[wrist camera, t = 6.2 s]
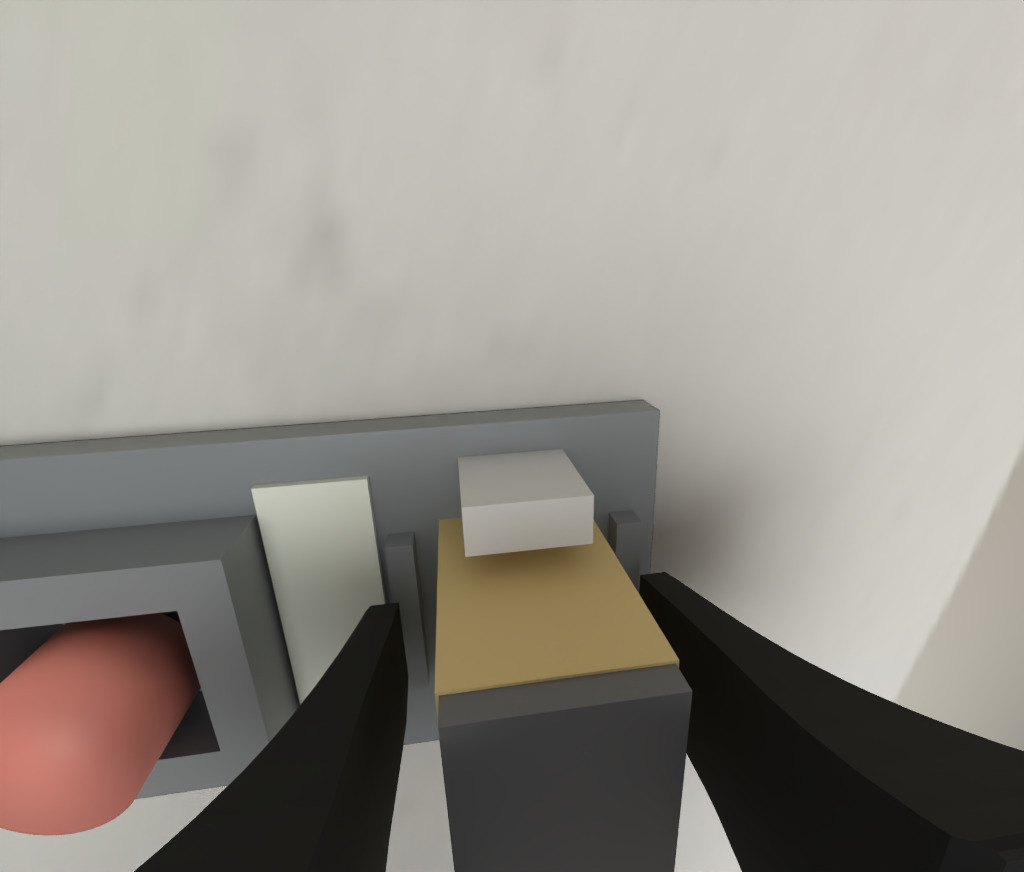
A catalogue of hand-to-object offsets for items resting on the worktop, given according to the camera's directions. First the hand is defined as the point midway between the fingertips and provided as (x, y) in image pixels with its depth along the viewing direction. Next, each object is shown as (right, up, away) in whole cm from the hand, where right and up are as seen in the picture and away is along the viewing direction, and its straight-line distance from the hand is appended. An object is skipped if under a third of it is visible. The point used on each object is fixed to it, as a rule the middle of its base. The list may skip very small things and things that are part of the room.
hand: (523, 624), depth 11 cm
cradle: (-4, 0, +2) cm, 5 cm away
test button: (-9, -1, -1) cm, 9 cm away
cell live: (0, 0, +1) cm, 1 cm away
